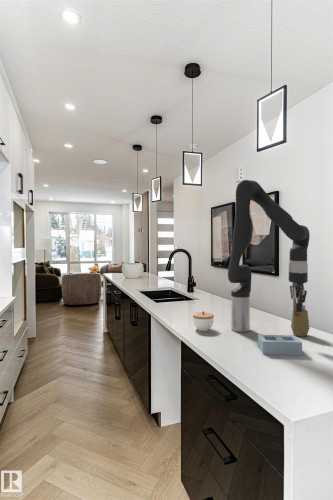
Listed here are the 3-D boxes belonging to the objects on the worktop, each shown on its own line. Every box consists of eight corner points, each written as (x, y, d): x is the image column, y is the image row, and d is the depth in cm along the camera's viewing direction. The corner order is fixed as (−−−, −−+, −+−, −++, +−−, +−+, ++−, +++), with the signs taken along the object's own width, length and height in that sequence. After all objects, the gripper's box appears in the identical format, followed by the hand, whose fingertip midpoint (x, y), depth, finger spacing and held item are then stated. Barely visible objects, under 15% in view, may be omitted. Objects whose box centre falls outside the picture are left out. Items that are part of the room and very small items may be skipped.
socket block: (257, 346, 123) (257, 334, 123) (294, 347, 122) (294, 335, 122) (262, 354, 114) (262, 341, 114) (302, 355, 113) (302, 342, 113)
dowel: (292, 314, 127) (293, 292, 127) (299, 314, 127) (300, 292, 127) (295, 316, 124) (295, 293, 124) (302, 316, 124) (302, 293, 124)
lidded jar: (213, 333, 143) (213, 314, 143) (191, 331, 145) (191, 313, 145) (214, 327, 153) (214, 309, 153) (194, 326, 155) (193, 308, 155)
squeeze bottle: (299, 331, 144) (299, 295, 144) (313, 336, 136) (313, 298, 136) (287, 333, 141) (287, 296, 141) (300, 338, 133) (300, 299, 133)
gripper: (283, 269, 132) (283, 306, 133) (294, 272, 118) (294, 314, 119) (300, 269, 132) (300, 307, 132) (314, 273, 118) (313, 315, 118)
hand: (297, 310), depth 125 cm, fingers closed on dowel, 3 cm apart
